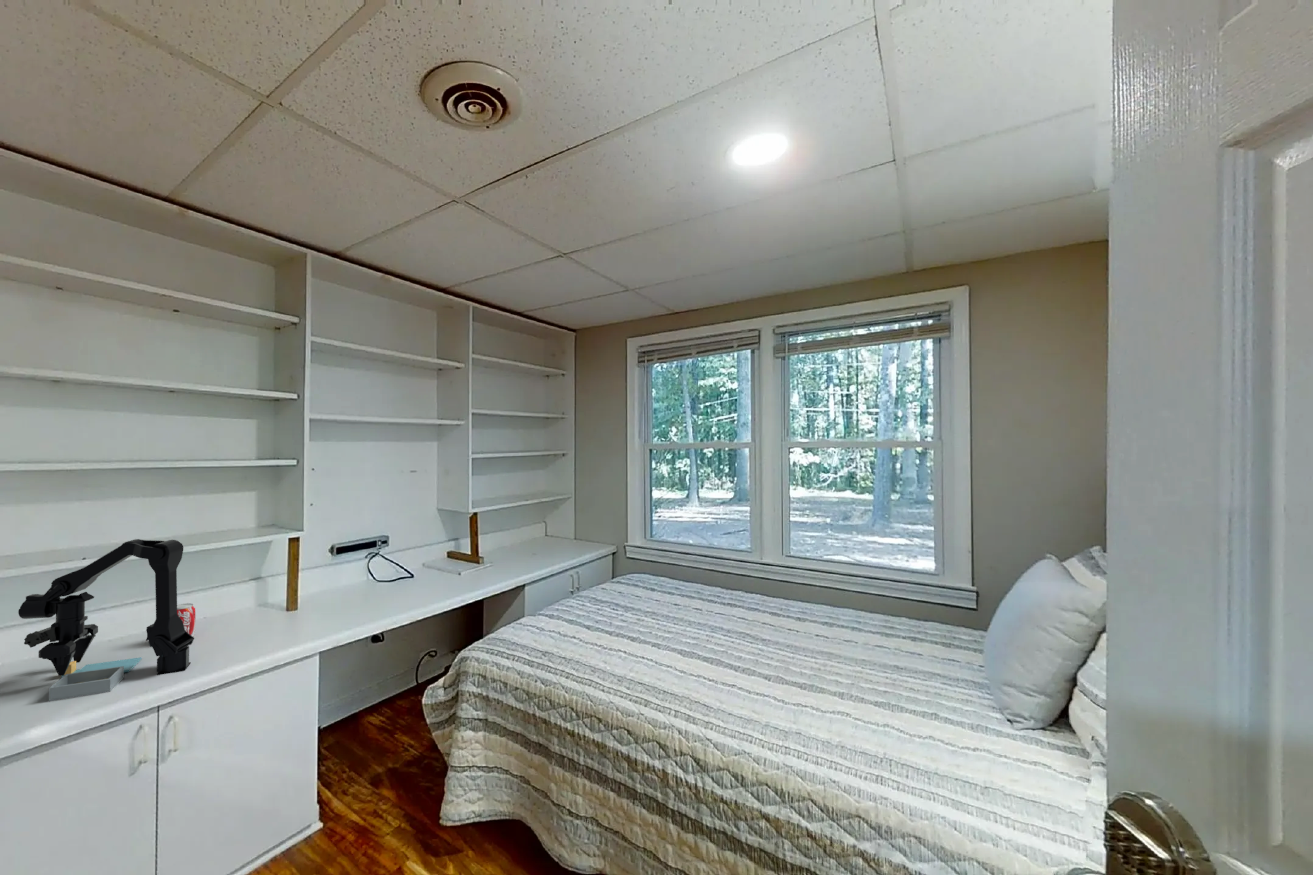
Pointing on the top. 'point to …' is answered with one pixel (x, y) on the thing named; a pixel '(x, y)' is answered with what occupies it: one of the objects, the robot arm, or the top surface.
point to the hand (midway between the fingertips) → (69, 668)
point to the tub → (86, 683)
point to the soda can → (187, 617)
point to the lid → (104, 665)
